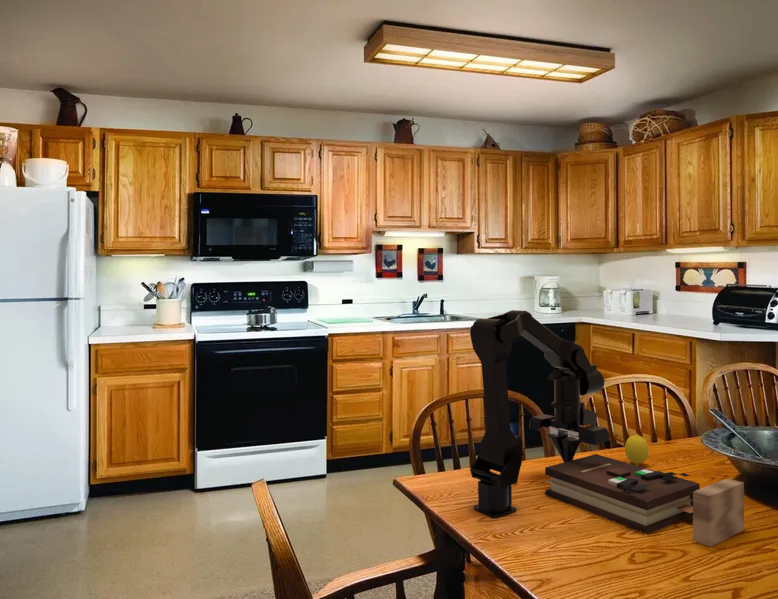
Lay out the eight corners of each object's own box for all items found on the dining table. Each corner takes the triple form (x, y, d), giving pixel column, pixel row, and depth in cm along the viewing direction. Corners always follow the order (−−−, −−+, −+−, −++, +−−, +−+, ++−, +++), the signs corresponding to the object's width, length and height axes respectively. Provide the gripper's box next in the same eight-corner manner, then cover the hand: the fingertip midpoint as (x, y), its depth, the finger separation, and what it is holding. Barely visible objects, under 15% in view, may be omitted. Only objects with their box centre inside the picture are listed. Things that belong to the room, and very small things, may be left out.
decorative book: (591, 447, 145) (714, 481, 119) (591, 478, 145) (714, 519, 120) (533, 461, 135) (654, 502, 109) (533, 495, 135) (654, 543, 110)
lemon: (650, 464, 154) (650, 432, 153) (646, 470, 149) (646, 438, 149) (627, 461, 156) (627, 430, 156) (623, 466, 152) (622, 435, 152)
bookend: (709, 547, 106) (709, 496, 106) (693, 541, 109) (692, 491, 109) (744, 530, 113) (743, 482, 113) (727, 524, 116) (727, 478, 115)
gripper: (624, 399, 136) (625, 468, 136) (558, 388, 151) (559, 450, 152) (593, 406, 129) (593, 478, 130) (527, 394, 145) (528, 458, 145)
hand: (568, 465), depth 139 cm, fingers closed
